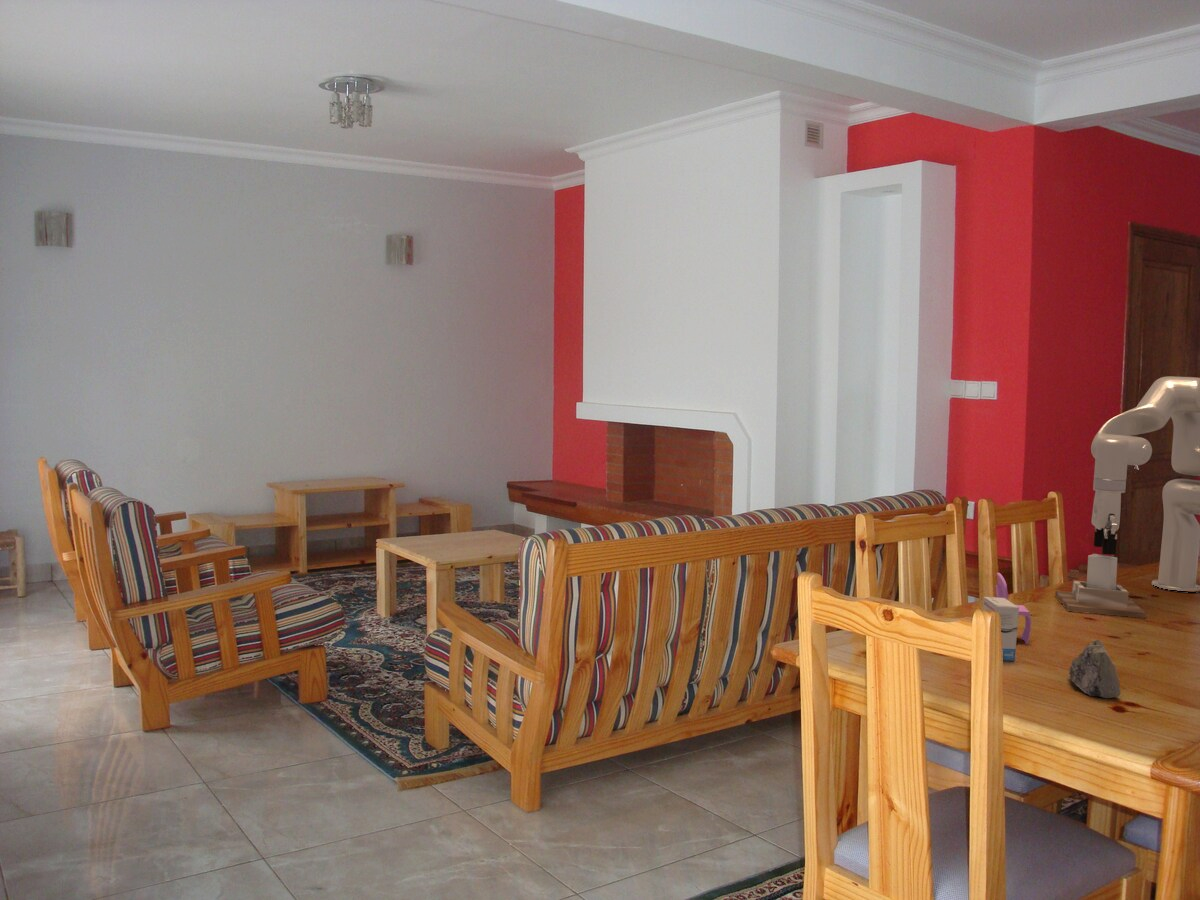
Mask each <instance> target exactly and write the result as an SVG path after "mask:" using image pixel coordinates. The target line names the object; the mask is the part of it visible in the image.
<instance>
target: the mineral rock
mask: <svg viewBox="0 0 1200 900" xmlns="http://www.w3.org/2000/svg"><path fill="white" fill-rule="evenodd" d="M1068 674H1069V678H1070V680H1071V681H1070V682H1073V683H1074V685H1075V686H1076V687H1078V688H1079V690H1081V691H1082V692H1083V693H1084V694H1087V695H1089V697H1100V698H1103V699H1112V698H1117V697H1119V696H1121V693H1122V689H1121V685H1120V679H1119V674H1118V672H1117V668H1116V665H1115V664H1114V662H1113V660H1112V659H1111V657H1110V656H1109V654H1108V652H1107V651H1106V648H1105V645H1104V643H1103V642H1102V641H1101V640H1099V639H1095V640H1093V641H1092V642H1089V643H1088V644H1086V645H1085V647H1084V650H1083V651H1082V652H1081V653H1080V654H1078V656H1076V657H1074V659H1073V660H1072V661H1071V665H1070V667H1068Z"/></svg>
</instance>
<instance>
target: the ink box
mask: <svg viewBox="0 0 1200 900" xmlns="http://www.w3.org/2000/svg"><path fill="white" fill-rule="evenodd" d="M982 599H983V600H982V609H984V610H989V611H996V612H998V613H999V615H1000V617H1001V632H1002V649H1003V660H1002V661H1005V662H1006V661H1009V662H1010V661H1011V662H1015V661H1016V652H1017V651H1016V649H1017V638H1018V625H1019V624H1018V623H1019V616H1020V615H1019V607H1018V606H1016V605H1017V604H1014V603H1013V602H1011V601H1010V600H1008V598H1007V599H1005V598H997V596H996V597H995V596H993V597H992V596H983V598H982Z"/></svg>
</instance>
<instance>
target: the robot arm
mask: <svg viewBox="0 0 1200 900" xmlns="http://www.w3.org/2000/svg"><path fill="white" fill-rule="evenodd" d="M1170 418H1171V420H1172V425H1173V434H1172V435H1173V436H1172V444H1171V447H1172V448H1171V458H1170V459H1171V467H1172V469H1173V471H1175V473H1178V474H1182V475H1187V476H1188V475H1189V476H1196V477H1197V476H1198V477H1200V377H1194V376H1193V377H1192V376H1172V375H1171V376H1169V375H1168V376H1161V377H1160V378H1158V379H1156V380H1155V381H1153V383H1152V384H1151V386H1150V387H1149V389H1148V390H1147V392H1145V394H1144V395H1143V396H1142V398H1141V399H1140V401H1139V402H1138V404H1137V405H1136V407H1134V408H1131V409H1128V410H1127V411H1123V412H1122V413H1120V414H1118V415H1116V416H1114V417H1112V418H1110V419H1109V420H1107V421H1106V422H1105V423H1103V425H1102V426H1101V427H1100V429H1099V430H1098V432H1097V433H1096V434H1095V435H1094V438H1093V440H1092V442H1091V446H1090V452H1091V455H1092V457H1093V458H1094V460H1095V462H1094V472H1093V473H1094V474H1093V484H1092V485H1093V486H1092V491H1095V494H1094V498H1093V505H1092V514H1091V525H1092V526H1094V537H1093V546H1094V547H1095V548H1101V553H1102V555H1109V556H1110V555H1111V556H1113V555H1116V554H1117V543H1118V542H1117V541H1118V530H1119V528H1120V523H1121V522H1120V521H1121V508H1122V507H1121V506H1122V504H1121V503H1122V494H1123V493H1124V494H1125V493H1126V486H1127V474H1128V466H1142V465H1144V464H1146V463H1147V462H1149V460H1150V459H1151V457H1152V454H1153V448H1152V445H1151V443H1150V441H1149V440H1148V439H1146V438H1143V437H1140V436H1137V435H1142V434H1147V433H1151V432H1155V431H1158V430H1161V429H1162V428H1164V427H1165V426H1166V425H1167V423H1168V421H1169V420H1170ZM1161 496H1162V504H1163V505H1162V506H1163V523H1162V524H1163V525H1162V534H1161V535H1162V536H1161V537H1162V538H1161V544H1160V545H1161V547H1160V555H1159V556H1160V559H1159V567H1158V579H1153V580H1151V585H1152V586H1153V585H1154V586H1153V587H1155V586H1157V587H1159V588H1158V589H1161V588H1163V589H1162V590H1165V589H1168V590H1167V591H1170V590H1177V591H1198V590H1200V585H1198V584H1197V574H1198V564H1199V555H1200V523H1199V522H1198V520H1197V517H1196V516H1195V515H1199V516H1200V480H1197V479H1188V478H1175V479H1172V480H1169V481H1167V482H1166V483H1165V484H1164V486H1163V487H1162V493H1161ZM1157 587H1156V588H1157ZM1177 591H1176V592H1177Z"/></svg>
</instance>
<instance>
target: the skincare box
mask: <svg viewBox="0 0 1200 900" xmlns="http://www.w3.org/2000/svg"><path fill="white" fill-rule="evenodd" d="M1117 570H1118V556H1116V557H1115V556H1112V555H1111V556H1110V555H1106V554H1098V553H1092V554H1089V555H1088V556H1087V572H1086V582H1087V588H1095V589H1107V590H1116V584H1117V573H1118V571H1117Z"/></svg>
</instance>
